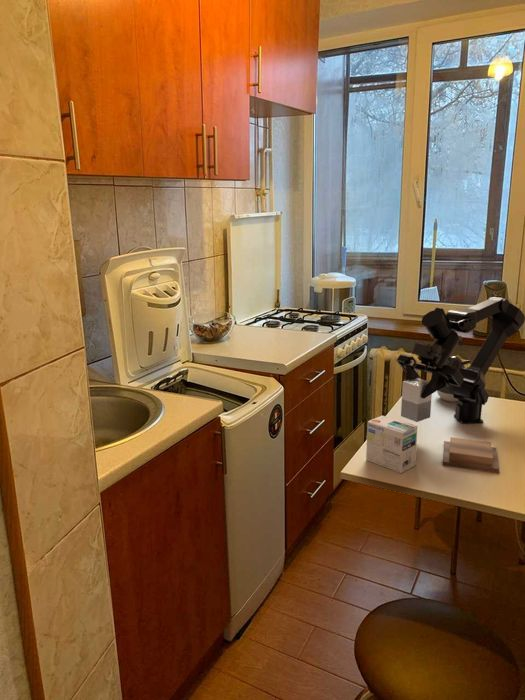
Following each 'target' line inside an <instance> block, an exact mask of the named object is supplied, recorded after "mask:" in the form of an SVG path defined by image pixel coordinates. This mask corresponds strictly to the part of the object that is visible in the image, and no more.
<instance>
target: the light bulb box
mask: <svg viewBox="0 0 525 700" xmlns="http://www.w3.org/2000/svg"><path fill="white" fill-rule="evenodd" d="M366 426H367V427H366V428H367V431H366V453H365V455H366V456H365V460H366V461H367V462H370V463H373V464H376V465H379V466H381V467H383V468H386V469H388V470H391V471H393V472H396V473H399V474H403V473H404V472H406V471H408V470H410V469H411V468H412V467H414V466H416V461H417V460H416V459H417V441H418V425H416V424H412V423H409V422H405V421H402V420H398V419H394V418H391V417H388V416H385V415H380V416H378V417H375V418H373V419H370V420H368V421H367V424H366Z"/></svg>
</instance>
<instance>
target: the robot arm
mask: <svg viewBox="0 0 525 700" xmlns="http://www.w3.org/2000/svg"><path fill="white" fill-rule="evenodd" d="M488 318H491V321H490V323H491V330H490V332H489V333H488V335H487V337H486V338H485V340H484V341H483V343H482V345H481V347H480V348H479V350H478V352H477V353H476V356H475V357H474V359H473V360H472V361H471V363H470V365H469V366H468V367H465V368H466V369H465V368H461V369H459V370H458V369H457V367H453V366H449V365H445V364H446V362H450V361H451V358H450V356H452V354H453V353H454V350H455V349H456V347H457V346H459V347H462V346H463V340H462V335H459V334H458V333H465V334H469V333H470V332H471V331H473V330H474V329H475V328H477V324H478V323H479V322H481V321H483V320H485V319H488ZM524 323H525V314H524V313H523V311H522V310H521V309H520V308H519V307H517V306H515V305H514V304H512V303H511V302H510V301H509V300H508V299H506V298H505V297H497V296H492V297H491V296H490V297H489V298H488V299H486V300H484V301H482V302H479V303H478V304H474V305H473V306H469V307H467V308H456V309H455V308H454V309H450V310H448V311H447V312H445V310H444V308H442V307H438V306H437V307H435V309H434V310H431V311H428V312H427V313H426V314H424V315H423V317H421V324H422V325H423V327H424V329H425V330H426V331H427V332H428V334H429V336H430V337H431V338H432V339H433V340H434V341H433V343H432V344H430V343H429V344H424V343H419V342H415V343H414V344H413V345H414V346H413V348H412V350H411V355H409V354H405V353H402V354H399V356H398V357H397V359H395V361H396V362H397V363H398V365H399V366H400V367H401V369H402V370H403V371H404V372H406V377H405V381H406V380H410V379H413V378H419V379H421V376H420V374H419V371H422V372H426V373H429V374H431V376H430V377H431V378H430V380H429V383H428V385H427V386H426V388H425V390H424V391H423V393H422V396H421V397H422V398H423V399H424V398H426V397H428V396H429V395H431V394H434V393H436V392H437V391H438V390H439V389H441V388H443V387H445V386H450V384H451V385H452V392H453V398H456V399H458V402H456V404H455V411H454V413H455V414H453V417H454V418H456V419H457V420H458V421H459V422H460V423H461V424H465V425H466V424H481V423H484V420H483V419H482V412H483V406H485V405H486V404H487V403H488V400H489V396H490V395H489V394H488V392H487V391H486V390H485V389H486V388H485V387H486V378H485V376H486V374H487V372H488V370H489V369H490V368H491V366H492V364H493V363H494V361H495V360H496V357H497V355H498V354H499V353H500V350H501V348H502V347H503V346H504V344H505V342H506V340H507V339H508V338H509V337H511V336H513V335H515V334H516V333H517V332H518V331H519V330H520V328H521V327H522V326H523V325H524ZM412 355H415V356H417V359H418V361H420V362H417V360H416V359H415V357H414V356H412ZM449 382H450V384H449Z"/></svg>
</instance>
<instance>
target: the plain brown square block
mask: <svg viewBox="0 0 525 700" xmlns="http://www.w3.org/2000/svg"><path fill="white" fill-rule="evenodd" d="M429 381H430V380H429ZM429 381H428V380H425V379H422V378H413V379H410V380H406V379H405V380H404V381H402V388H401V405H400V408H401V409H400V417H402V418H405V419H408V420H410V421H413V422H416V423H418V422H421V421H425V420H427V419H430V418H431V414H432V413H431V408H432V394H433V393H432V394H431V395H429V396H428V397H426V398H424V399H423V398H422V397H421V396H422V393H423V391H424V390H425V388H426V386H427V385H428V383H429Z"/></svg>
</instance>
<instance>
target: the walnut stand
mask: <svg viewBox="0 0 525 700" xmlns="http://www.w3.org/2000/svg"><path fill="white" fill-rule="evenodd" d="M442 452H443V453H442V463H441V464H442V466H444V467H445V466H446V467H453V468H458V469H459V468H460V469H467V470H476V471H480V472H489V473H496V474H499V473H500V464H499V456H498V449H497V447H495V446H492V441H487V440H477V439H471V438H470V439H469V438H461V437H450V441H445V440H444V441H443V451H442Z"/></svg>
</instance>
